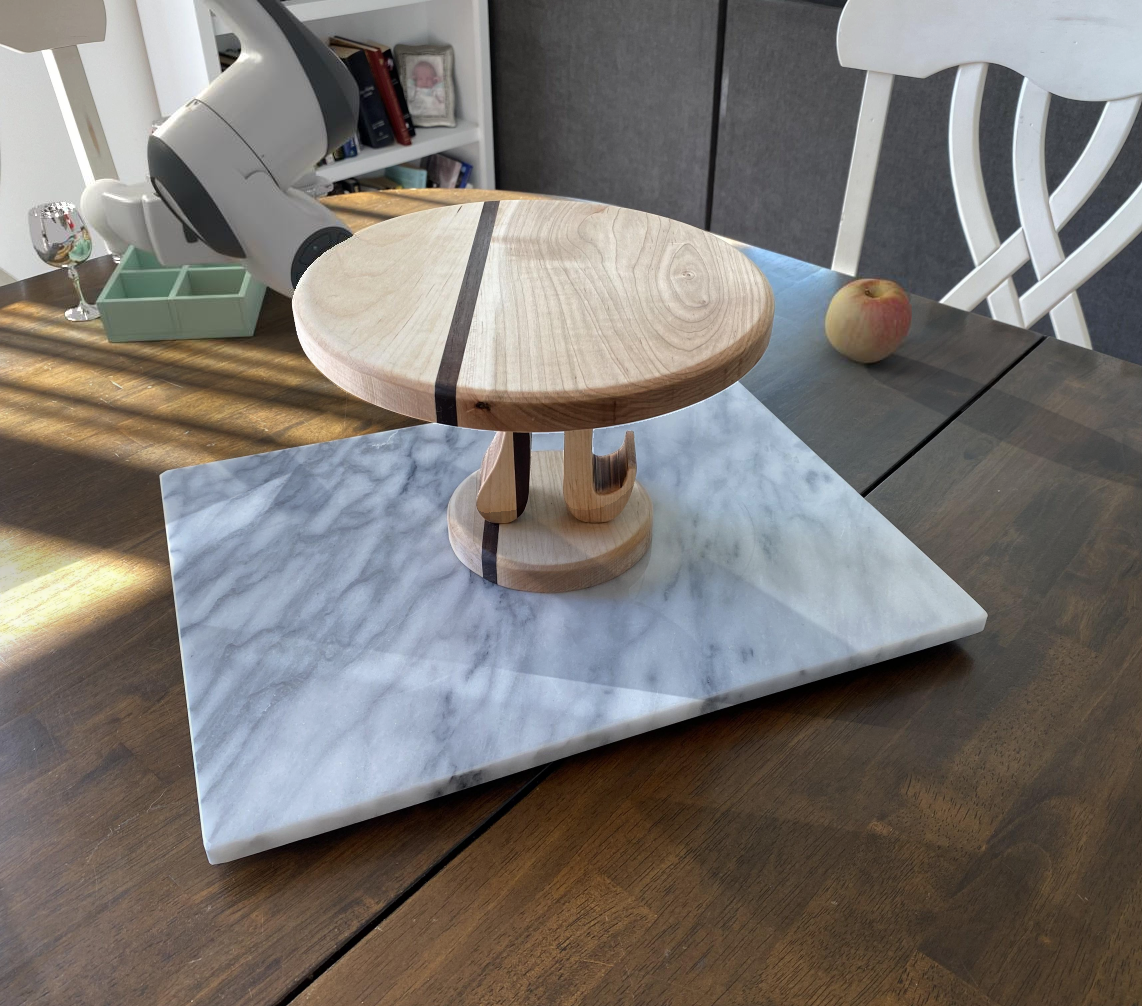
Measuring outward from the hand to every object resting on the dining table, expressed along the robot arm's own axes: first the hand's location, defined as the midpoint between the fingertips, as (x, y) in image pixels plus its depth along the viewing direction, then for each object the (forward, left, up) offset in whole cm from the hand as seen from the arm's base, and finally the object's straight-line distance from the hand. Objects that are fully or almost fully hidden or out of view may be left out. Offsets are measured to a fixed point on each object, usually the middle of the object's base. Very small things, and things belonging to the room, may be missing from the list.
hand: (184, 174), depth 96 cm
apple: (+71, -15, -17) cm, 74 cm away
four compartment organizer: (-3, +3, -16) cm, 17 cm away
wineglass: (-15, +3, -17) cm, 23 cm away
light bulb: (-13, +15, -17) cm, 26 cm away
